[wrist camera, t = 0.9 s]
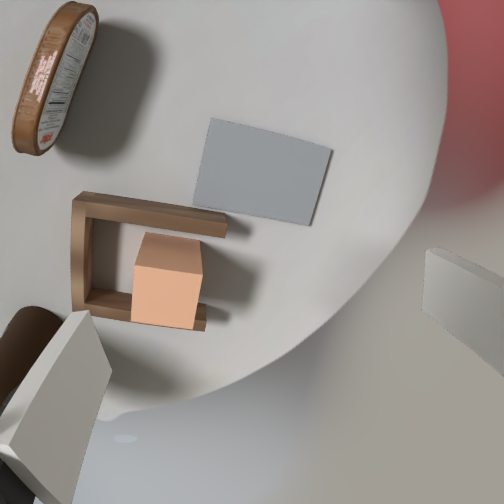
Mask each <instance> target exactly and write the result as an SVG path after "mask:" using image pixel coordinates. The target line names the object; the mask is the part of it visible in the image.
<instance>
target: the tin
mask: <svg viewBox="0 0 504 504" xmlns="http://www.w3.org/2000/svg"><path fill="white" fill-rule="evenodd" d="M98 23H99V16H98V13H97V10H96V8H95V7H94V6H92V5H89V4H82V3H77V2H75V1H70V2H67V3H65V4H63V5H62V6H61V7H60V8H59V9H58V10H57V11H56V12H55V13H54V15H53V16H52V17H51V19H50V20H49V22H48V24H47V25H46V27H45V29H44V31H43V34H42V36H41V38H40V40H39V43H38V45H37V48H36V50H35V53H34V55H33V58H32V60H31V63H30V66H29V68H28V71H27V74H26V77H25V80H24V83H23V86H22V89H21V92H20V95H19V98H18V102H17V105H16V108H15V112H14V116H13V121H12V131H11V135H12V144H13V147H14V149H15V150H16V151H17V152H18V153H27V154H30V155H34V156H40V155H42V154H44V153H45V152H47V151H48V150H49V149H50V148H51V147H52V146H53V144H54V143H55V141H56V139H57V137H58V135H59V134H60V131H61V129H62V127H63V124H64V122H65V119H66V116H67V113H68V110H69V107H70V104H71V101H72V98H73V95H74V93H75V90H76V87H77V84H78V82H79V79H80V76H81V74H82V71H83V69H84V66H85V64H86V61H87V59H88V56H89V54H90V51H91V49H92V46H93V43H94V40H95V37H96V34H97V29H98Z"/></svg>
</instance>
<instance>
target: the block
mask: <svg viewBox="0 0 504 504" xmlns="http://www.w3.org/2000/svg"><path fill="white" fill-rule="evenodd" d="M202 277H203V271H202V260H201V250H200V240H195V239H188V238H182V237H175V236H169V235H162V234H156V233H149V232H145V235H144V238H143V241H142V244H141V247H140V250H139V253H138V256H137V259H136V262H135V266H134V278H133V291H132V307H131V321H132V322H139V323H146V324H153V325H160V326H168V327H176V328H184V329H193V325H194V319H195V314H196V308H197V303H198V298H199V293H200V287H201V282H202Z"/></svg>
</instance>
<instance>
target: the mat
mask: <svg viewBox="0 0 504 504" xmlns="http://www.w3.org/2000/svg"><path fill="white" fill-rule="evenodd" d="M330 152H331V149H330V148H327V147H324V146H320V145H317V144H314V143H310V142H307V141H303V140H300V139H296V138H293V137H289V136H285V135H282V134H278V133H274V132H270V131H266V130H262V129H258V128H254V127H250V126H245V125H241V124H236V123H232V122H227V121H223V120H218V119H213V118H211V122H210V126H209V130H208V134H207V139H206V143H205V147H204V152H203V156H202V161H201V166H200V170H199V175H198V180H197V185H196V189H195V194H194V199H193V205H198V206H204V207H209V208H215V209H221V210H227V211H232V212H238V213H243V214H249V215H254V216H260V217H265V218H270V219H276V220H281V221H286V222H291V223H296V224H301V225H307V226H309V224H310V220H311V217H312V214H313V211H314V207H315V204H316V201H317V197H318V194H319V191H320V187H321V184H322V180H323V177H324V173H325V170H326V167H327V163H328V160H329V156H330Z"/></svg>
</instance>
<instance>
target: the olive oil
mask: <svg viewBox="0 0 504 504" xmlns="http://www.w3.org/2000/svg"><path fill="white" fill-rule="evenodd" d="M62 324H63V323H62V322H61V321H60V320H59V319H58V318H57V317H56V316H55V315H53V314H52V313H50V312H49V311H47V310H45V309H42V308H39V307H34V306H28V307H24V308H22V309H20V310H19V311H18V312H17V313H16V314H15V316H14V317H13V318H12V320H11V321H10V323H9V324H8V326H7V327H6V328H5V330H4V331H3V333H2V334H1V336H0V407H1V406H3V403H4V401H5V399H6V398H7V396H8V395H9V393H10V392H11V391H12V390H13V389H15V388H16V387H17V386H18V385H19V384H20V383H22V381H23V380H24V378H25V377H26V375H27V374H28V372H29V371H30V369H31V368H32V366H33V365H34V363H35V362H36V361H37V359H38V358H39V356H40V355H41V353H42V352H43V350H44V349H45V348H46V346H47V345H48V343H49V342H50V341H51V339H52V338H53V337H54V335H55V334H56V332H57V331H58V330H59V328H60V327H61V326H62Z"/></svg>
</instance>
